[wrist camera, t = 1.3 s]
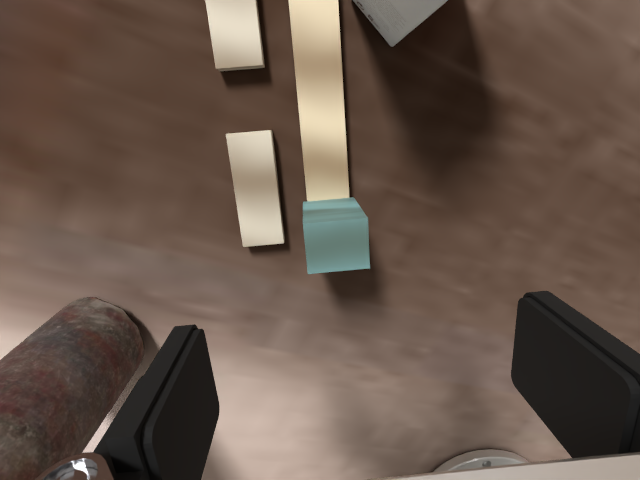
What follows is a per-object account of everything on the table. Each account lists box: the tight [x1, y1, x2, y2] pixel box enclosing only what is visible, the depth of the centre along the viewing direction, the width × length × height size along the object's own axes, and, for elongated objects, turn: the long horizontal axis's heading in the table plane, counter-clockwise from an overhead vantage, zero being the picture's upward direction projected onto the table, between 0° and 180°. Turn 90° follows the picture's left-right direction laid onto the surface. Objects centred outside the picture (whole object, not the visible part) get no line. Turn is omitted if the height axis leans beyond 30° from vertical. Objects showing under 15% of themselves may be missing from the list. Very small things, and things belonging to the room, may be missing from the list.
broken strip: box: [205, 0, 285, 247], centre depth 24 cm, size 22×3×1 cm, turn 5°
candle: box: [0, 297, 144, 480], centre depth 20 cm, size 8×7×20 cm
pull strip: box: [289, 0, 370, 274], centre depth 21 cm, size 22×11×7 cm, turn 5°
